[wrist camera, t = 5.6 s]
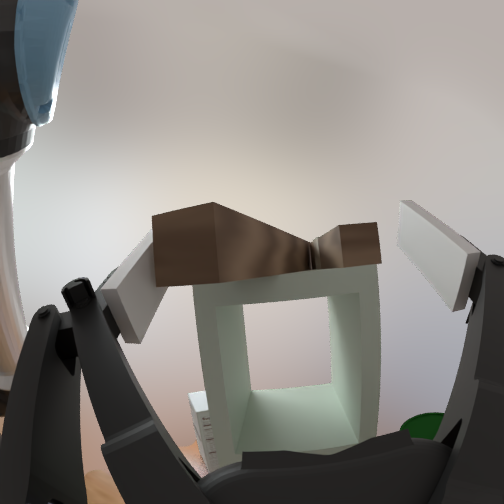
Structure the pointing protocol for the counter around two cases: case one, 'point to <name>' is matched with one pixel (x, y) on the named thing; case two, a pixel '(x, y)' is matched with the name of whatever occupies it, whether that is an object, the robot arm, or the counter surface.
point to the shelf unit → (299, 398)
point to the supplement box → (203, 429)
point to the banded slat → (346, 247)
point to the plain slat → (221, 247)
